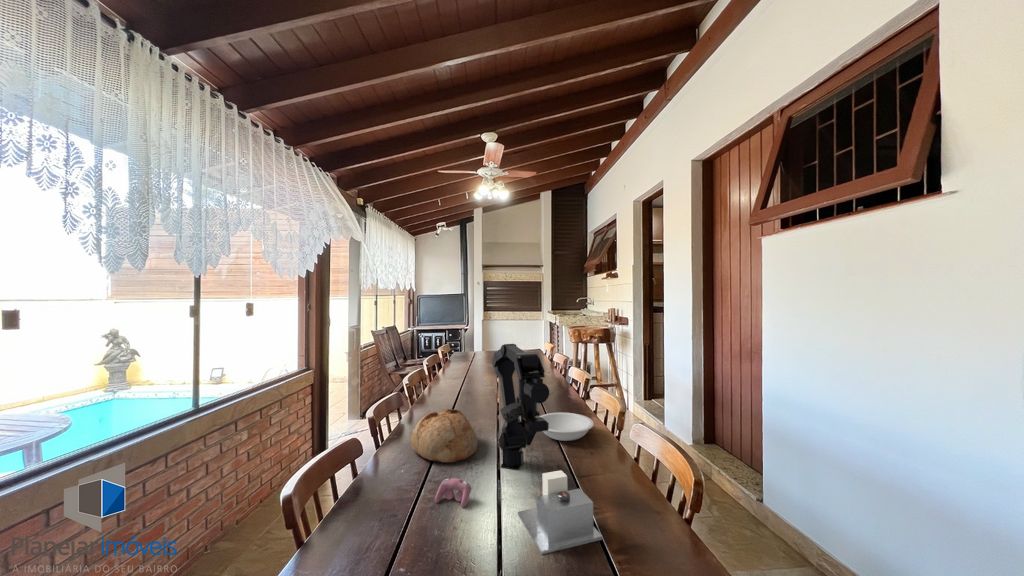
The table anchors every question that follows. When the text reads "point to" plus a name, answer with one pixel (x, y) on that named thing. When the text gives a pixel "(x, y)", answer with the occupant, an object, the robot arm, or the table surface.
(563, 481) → the white rectangular block
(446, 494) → the video game controller
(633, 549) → the table surface
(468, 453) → the bread
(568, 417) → the soup bowl
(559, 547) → the mount
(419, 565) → the table surface
